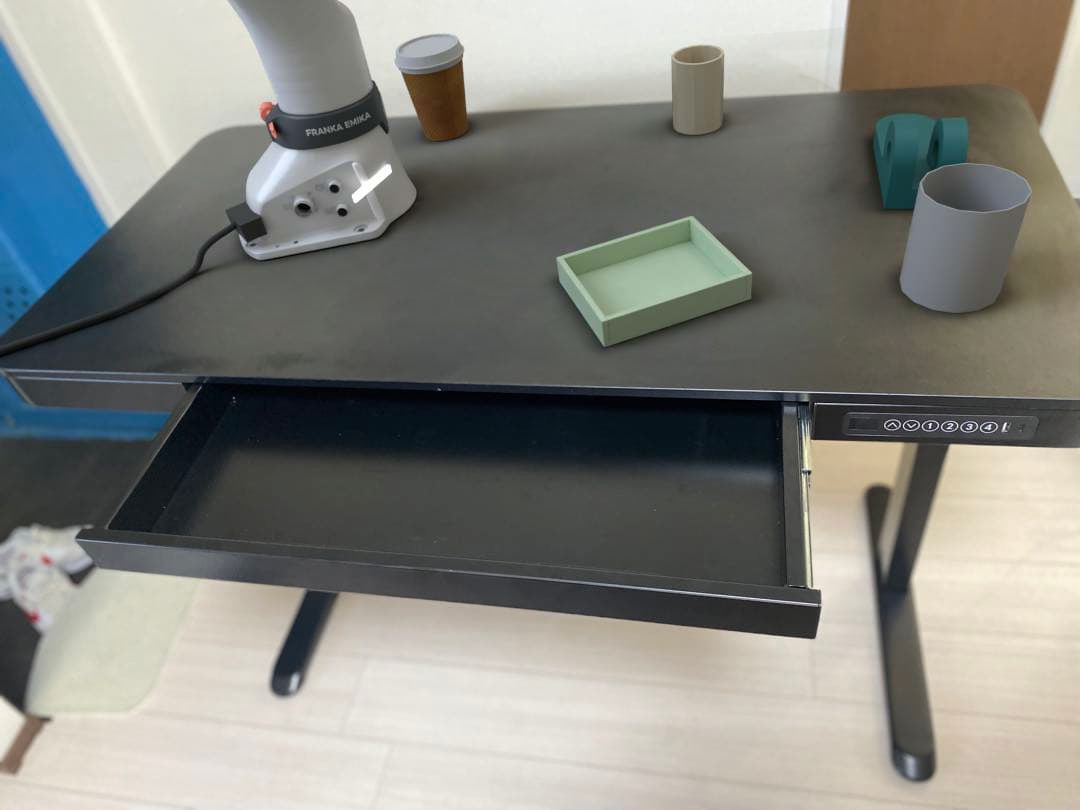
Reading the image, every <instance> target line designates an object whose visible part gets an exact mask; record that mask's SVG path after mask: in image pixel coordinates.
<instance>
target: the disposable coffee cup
mask: <svg viewBox="0 0 1080 810" xmlns="http://www.w3.org/2000/svg"><path fill="white" fill-rule="evenodd" d="M464 53H465V47H464V45H463V44H461V41H460V39H459V37H458V36H456V35H455V34H451V33H432V34H431V33H430V34H426V35H420V36H417V37H414V38H410V39H409V40H405V42H402V43H401V44H399V45H398V46H397V47H396V48H395V58H394V64H395V66H396V67H397V69H398V70H399V71H400V73H401V76H402V78H403V81H404V84H405V86H406V89H407V92H408V95H409V98H410V100H411V103H412V105H413V108H414V110H415V112H416V116H417V118H418V121H419V123H420V126H421V129H422V131H423V134H424V137H425V138H426V139H428V140H429V141H433V142H435V141H436V142H444V141H450V140H453V139H455V138H458V137H460V136H462V135H464V134H465V133H466V132H467V131H468V128H469V125H468V112H467V99H466V98H467V97H466V88H465V87H466V86H465V75H464V62H463V58H464Z"/></svg>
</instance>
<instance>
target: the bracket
mask: <svg viewBox="0 0 1080 810" xmlns="http://www.w3.org/2000/svg"><path fill="white" fill-rule="evenodd" d="M872 142H873V143H872V148H873V153H874V158H875V164H876V169H877V175H878V180H879V185H880V192H881V196H882V202H883V208H884V210H914V208H915V203H916V199H917V194H918V189H919V184H920V182H921V181H922V179H923V178H924V177H925V175H926V174H927V173H928V172H931V171H933V170H935V169H938V168H940V167H942V166H947V165H955V164H963V163H967V158H968V151H969V150H968V149H969V125H968V121H967V118H966V117H944V118H943V117H941V118H940V117H939V118H937V119H934V118H932V117H930V116H927V115H923V114H919V113H907V112H906V113H896V114H891V115H887V116H885V117H882V118H881V119H879V120H878V121H877V122H876V124H875V130H874V135H873V141H872Z"/></svg>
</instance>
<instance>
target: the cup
mask: <svg viewBox="0 0 1080 810" xmlns="http://www.w3.org/2000/svg"><path fill="white" fill-rule="evenodd" d="M1032 193H1033V191H1032V188H1031V186H1030V184H1029V182H1028V180H1027V179H1025V178H1024V177H1023V176H1021V175H1020V174H1018V173H1016V172H1014V171H1013V170H1011V169H1007V168H1003V167H1000V166H997V165H993V164H986V163H985V164H983V163H971V162H970V163H969V162H966V163H963V164H955V165H947V166H942V167H940V168H938V169H935V170H933V171H931V172H928V173H927V174H926V175H925V177H924V178H923V179H922V181H921V182H920V184H919V189H918V194H917V199H916V203H915V208H914V209H913V214H912V218H911V223H910V228H909V233H908V236H907V237H908V239H907V242H906V247H905V251H904V256H903V261H902V266H901V270H900V276H899V283H900V288H901V292H902V293H903V294H904V295H906V297H908V299H910V300H911V301H912V302H913V303H915V304H917V305H919V306H922V307H925V308H927V309H929V310H932V311H938V312H943V313H952V314H962V313H971V312H978V311H981V310H983V309H985V308H987V307H989V306H991V305H993V304H994V303H995V302H996V300H997V299H998V297H999V295H1000V294H1001V291H1002V289H1003V284H1004V282H1005V278H1006V275H1007V272H1008V269H1009V266H1010V262H1011V259H1012V256H1013V253H1014V250H1015V248H1016V247H1015V246H1016V244H1017V240H1018V238H1019V234H1020V231H1021V227H1022V225H1023V222H1024V219H1025V215H1026V211H1027V209H1028V206H1029V202H1030V199H1031V197H1032Z"/></svg>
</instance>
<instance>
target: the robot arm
mask: <svg viewBox="0 0 1080 810" xmlns="http://www.w3.org/2000/svg"><path fill="white" fill-rule="evenodd" d="M226 1H227V2H228V4H229V5H230V6H231V7H232V9H233V10H234V12H235V13H236V14H237V16H238V17H239V19H240V21H241V22H242V24H243V25H244V27H245V29H246V30H247V32H248V34H249V36H250V38H251V39H252V42H253V44H254V46H255V48H256V51H257V53H258V57H259V58H260V61H261V63H262V66H263V68H264V70H265V71H264V72H265V74H266V76H267V79H268V81H269V84H270V87H271V89H272V92H273V94H274V98H275V100H276V104H275V103H273V102H271V101H263V102H262V103H261V104H260V105H259V106H260V107H259V108H258V109H259V115H260V118H261V120H262V121H263V122H264V123H265V125H266V128H267V131H268V134H269V136H270V139H271V140H272V142H270V144H269V146H268V147H267V148H266V150H265V151H264V153H263V154H262V155H261V156H260V158H259V159H258V161H257V162H256V163H255V165H254V166H253V167H252V168H251V170H250V172H249V174H248V175H247V179H246V183H245V200H246V201H244V202H241V203H239V204H236V205H234V206H231V207H229V208H227V209H224V211H225V214H226V216H227V218H228V220H229V222H230V224H228V225H227V226H226V227H224V228H222V229H221V230H219V231H218V232H217V233H215V234H213V235H212V236H210V238H207V240H206V241H205V242H204V243H203V244H202V246H200V248H199V250H198V251H197V254H196V258H195V262H194V264H193V266H192V267H190V269H189V270H188V271H186V272H185V273H184V274H183V275H182V276H180V277H179V278H177V279H176V280H174V281H172V282H171V283H169V284H167V285H165V286H162V287H160V288H158V289H155V290H153V291H150V292H147V293H144V294H143V295H140V296H138V297H135V298H133V299H130V300H129V301H126V302H124V303H122V304H119V305H117V306H114V307H112V308H108V309H106V310H103V311H100V312H98V313H94V314H92V315H88V316H85V317H82V318H79V319H76V320H74V321H71V322H68V323H64V324H62V325H59V326H56V327H53V328H50V329H48V330H47V329H46V330H44V331H42V332H38V333H36V334H32V335H30V336H29V335H28V336H27V337H23V338H20V339H18V340H14V341H11V342H8V343H5V344H3V345H0V355H1V354H3V353H6V352H11V351H13V350H16V349H18V348H22V347H25V346H29V345H31V344H35V343H36V342H37V343H38V342H40V341H42V340H45V339H48V338H51V337H54V336H58V335H60V334H64V333H65V332H69V331H72V330H74V329H75V330H76V329H77V328H81V327H82V326H86V325H89V324H92V323H95V322H99V321H101V320H104V319H108V318H110V317H113V316H115V315H118V314H120V313H123V312H126V311H128V310H130V309H132V308H135V307H137V306H140V305H142V304H144V303H146V302H148V301H151V300H153V299H156V298H158V297H161V296H163V295H165V294H167V293H169V292H171V291H173V290H174V289H176V288H178V287H179V286H181V285H182V284H184V283H186V282H188V281H189V280H190V279H192V278H193V277H195V275H196V274H197V273H198V272H199V271H200V269H201V267H202V265H203V263H204V258H205V255H206V254H207V251H209V249H210V248H211V247H212V246H213V245H215V244H216V243H217V242H218V241H220V240H221V239H223V238H225V237H226V236H228V235H229V234H231V233H232V232H233V231H236V232H237V233H238V236H239V241H240V243H241V246H242V248H243V250H244V251H245V253H246V254H247V255H248V256H249V257H251V258H252V259H255V260H257V261H265V260H271V259H274V258H280V257H286V256H291V255H296V254H301V253H302V254H303V253H307V252H312V251H317V250H322V249H327V248H332V247H338V246H343V245H348V244H352V243H353V244H354V243H359V242H363V241H364V242H365V241H370V240H374V239H377V238H378V237H381V235H383V233H385V231H386V230H387V229H388V227H389V225H390V224H391V223H393V222H394V221H396V219H398V218H399V217H401V216H402V215H404V214H405V213H407V211H408V210H409V209H410V208H411V207H412V206H413V204H414V203H415V201H416V199H417V194H418V193H417V189H416V186H415V185H414V182H412V180H411V179H410V177H409V175H408V173H407V171H406V170H405V168H404V166H403V164H402V162H401V160H400V158H399V155H398V152H397V151H396V148H395V146H394V143H393V140H392V138H391V136H390V126H389V123H390V122H389V118H388V115H387V110H386V107H385V103H384V99H383V96H382V93H381V90H379V87H378V85H377V82H376V81H375V80H373V78H372V75H371V71H370V68H369V67H370V66H369V64H368V60H367V56H366V53H365V50H364V46H363V43H362V39H361V36H360V32H359V28H358V24H357V20H356V18H355V16H354V13H353V12H352V11H351V9H350V8H349V7H348V6H347V5H346V4H345V3H343V2H342V1H340V0H226Z"/></svg>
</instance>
